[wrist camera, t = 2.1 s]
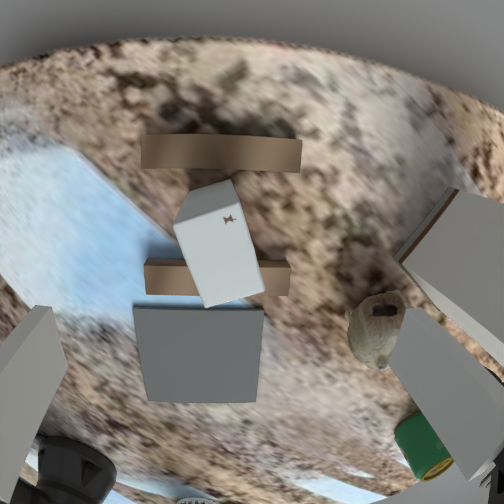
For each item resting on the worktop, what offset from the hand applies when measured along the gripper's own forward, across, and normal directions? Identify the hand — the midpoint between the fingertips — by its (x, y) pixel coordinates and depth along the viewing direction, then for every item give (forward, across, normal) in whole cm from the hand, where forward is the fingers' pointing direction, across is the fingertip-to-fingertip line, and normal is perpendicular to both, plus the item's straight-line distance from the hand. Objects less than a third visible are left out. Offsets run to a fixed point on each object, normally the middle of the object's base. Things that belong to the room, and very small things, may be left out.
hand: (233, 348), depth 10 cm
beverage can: (+21, +35, -37) cm, 55 cm away
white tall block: (+21, +27, -3) cm, 34 cm away
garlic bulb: (+21, +18, -11) cm, 30 cm away
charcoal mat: (+21, -2, -17) cm, 27 cm away
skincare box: (+21, 0, 0) cm, 21 cm away
